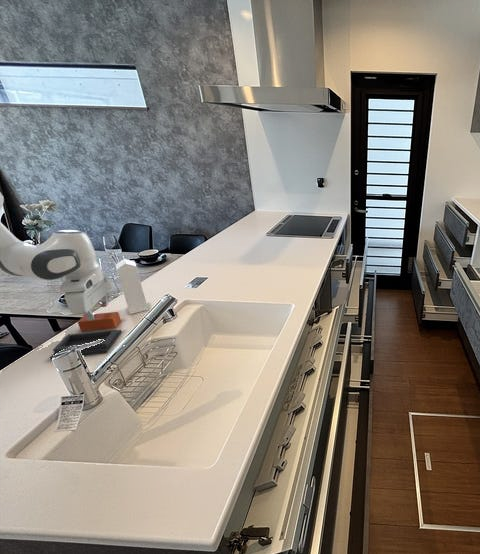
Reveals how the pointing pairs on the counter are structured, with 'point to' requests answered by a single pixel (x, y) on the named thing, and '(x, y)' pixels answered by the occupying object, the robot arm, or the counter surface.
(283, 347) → the counter surface
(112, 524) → the counter surface
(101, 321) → the top pad
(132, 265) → the milk
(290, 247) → the counter surface
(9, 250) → the robot arm
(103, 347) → the base pad
